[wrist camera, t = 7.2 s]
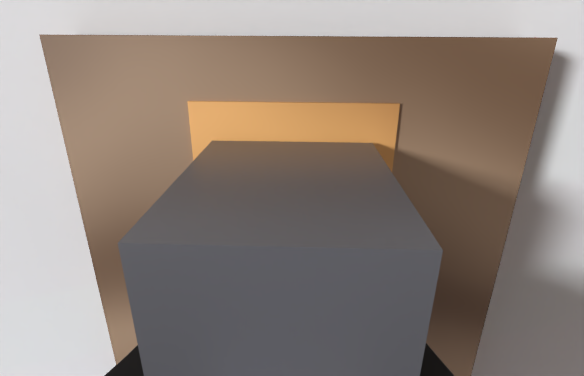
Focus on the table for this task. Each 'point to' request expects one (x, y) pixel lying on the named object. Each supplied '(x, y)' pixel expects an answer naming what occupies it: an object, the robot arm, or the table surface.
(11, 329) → the table surface
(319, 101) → the board
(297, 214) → the block
